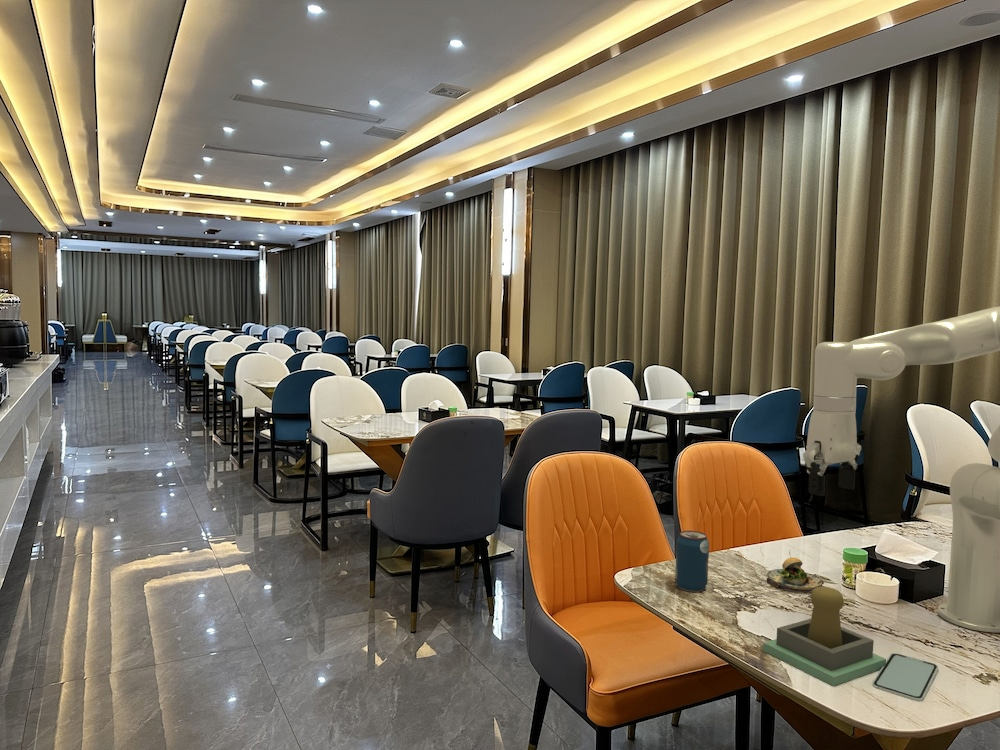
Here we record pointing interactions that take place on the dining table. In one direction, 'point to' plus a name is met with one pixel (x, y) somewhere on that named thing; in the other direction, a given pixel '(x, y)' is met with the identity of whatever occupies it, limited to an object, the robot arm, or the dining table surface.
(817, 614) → the olive brown pawn
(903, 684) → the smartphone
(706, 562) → the soda can
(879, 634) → the dining table surface
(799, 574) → the burger
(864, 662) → the socket board
